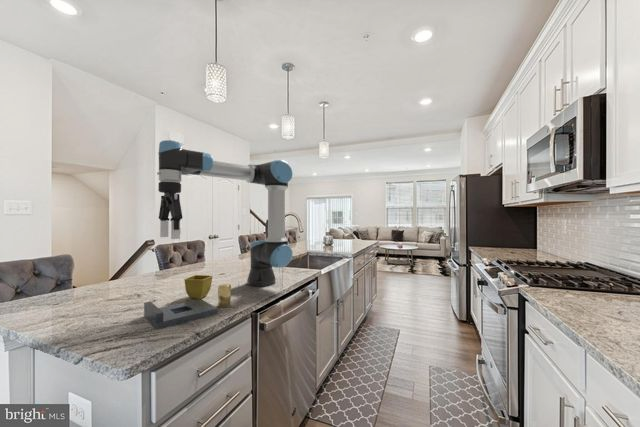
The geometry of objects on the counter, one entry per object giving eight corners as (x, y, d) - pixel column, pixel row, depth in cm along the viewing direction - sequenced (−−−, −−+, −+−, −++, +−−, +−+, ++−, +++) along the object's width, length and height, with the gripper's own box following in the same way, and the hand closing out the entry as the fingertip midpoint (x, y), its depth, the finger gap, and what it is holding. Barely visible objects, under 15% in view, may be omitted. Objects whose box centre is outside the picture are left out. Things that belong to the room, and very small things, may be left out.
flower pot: (213, 294, 123) (213, 275, 123) (202, 300, 114) (202, 279, 115) (195, 294, 124) (195, 274, 124) (183, 300, 115) (183, 279, 115)
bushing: (227, 302, 111) (227, 283, 111) (232, 305, 108) (232, 285, 108) (216, 305, 108) (216, 285, 108) (221, 308, 105) (221, 287, 105)
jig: (200, 303, 110) (200, 291, 110) (217, 313, 99) (217, 300, 99) (144, 316, 96) (144, 302, 96) (156, 329, 85) (156, 313, 85)
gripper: (150, 184, 107) (149, 236, 107) (169, 177, 90) (168, 240, 89) (170, 185, 113) (170, 235, 112) (192, 179, 95) (192, 239, 95)
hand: (169, 238), depth 101 cm, fingers open, 13 cm apart
